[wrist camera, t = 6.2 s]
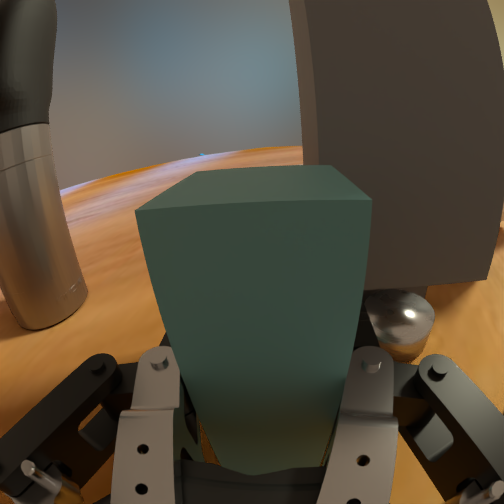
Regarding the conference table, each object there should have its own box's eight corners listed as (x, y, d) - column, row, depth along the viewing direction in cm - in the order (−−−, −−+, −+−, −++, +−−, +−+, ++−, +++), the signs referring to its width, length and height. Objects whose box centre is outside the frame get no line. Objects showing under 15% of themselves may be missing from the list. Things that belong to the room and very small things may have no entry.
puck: (366, 368, 15) (374, 339, 14) (352, 319, 20) (356, 291, 19) (434, 358, 15) (446, 329, 14) (411, 314, 19) (418, 287, 18)
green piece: (226, 475, 10) (134, 210, 5) (251, 320, 20) (236, 149, 15) (315, 477, 9) (372, 199, 4) (306, 319, 20) (306, 146, 15)
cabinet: (307, 379, 15) (281, -89, 4) (301, 298, 22) (282, -20, 12) (458, 359, 14) (473, -43, 3) (417, 292, 21) (418, -3, 11)
